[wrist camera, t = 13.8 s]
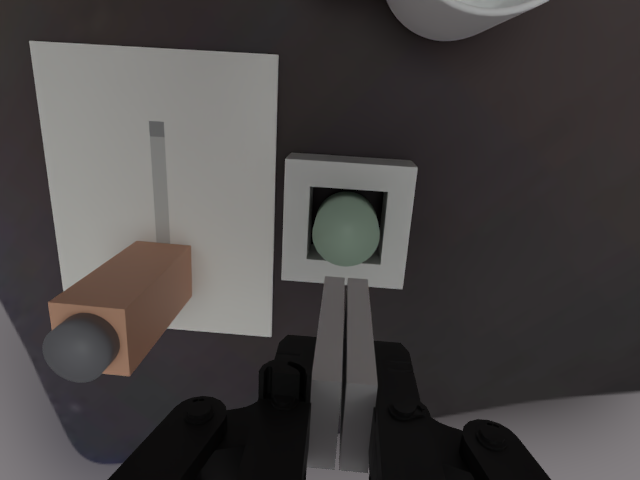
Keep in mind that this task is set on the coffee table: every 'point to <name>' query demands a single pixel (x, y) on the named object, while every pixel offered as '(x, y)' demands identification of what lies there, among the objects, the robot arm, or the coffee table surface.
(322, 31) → the coffee table surface
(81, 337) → the block with dark dome
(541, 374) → the coffee table surface
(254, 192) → the paper
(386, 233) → the button housing
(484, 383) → the coffee table surface
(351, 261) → the button
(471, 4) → the mug
